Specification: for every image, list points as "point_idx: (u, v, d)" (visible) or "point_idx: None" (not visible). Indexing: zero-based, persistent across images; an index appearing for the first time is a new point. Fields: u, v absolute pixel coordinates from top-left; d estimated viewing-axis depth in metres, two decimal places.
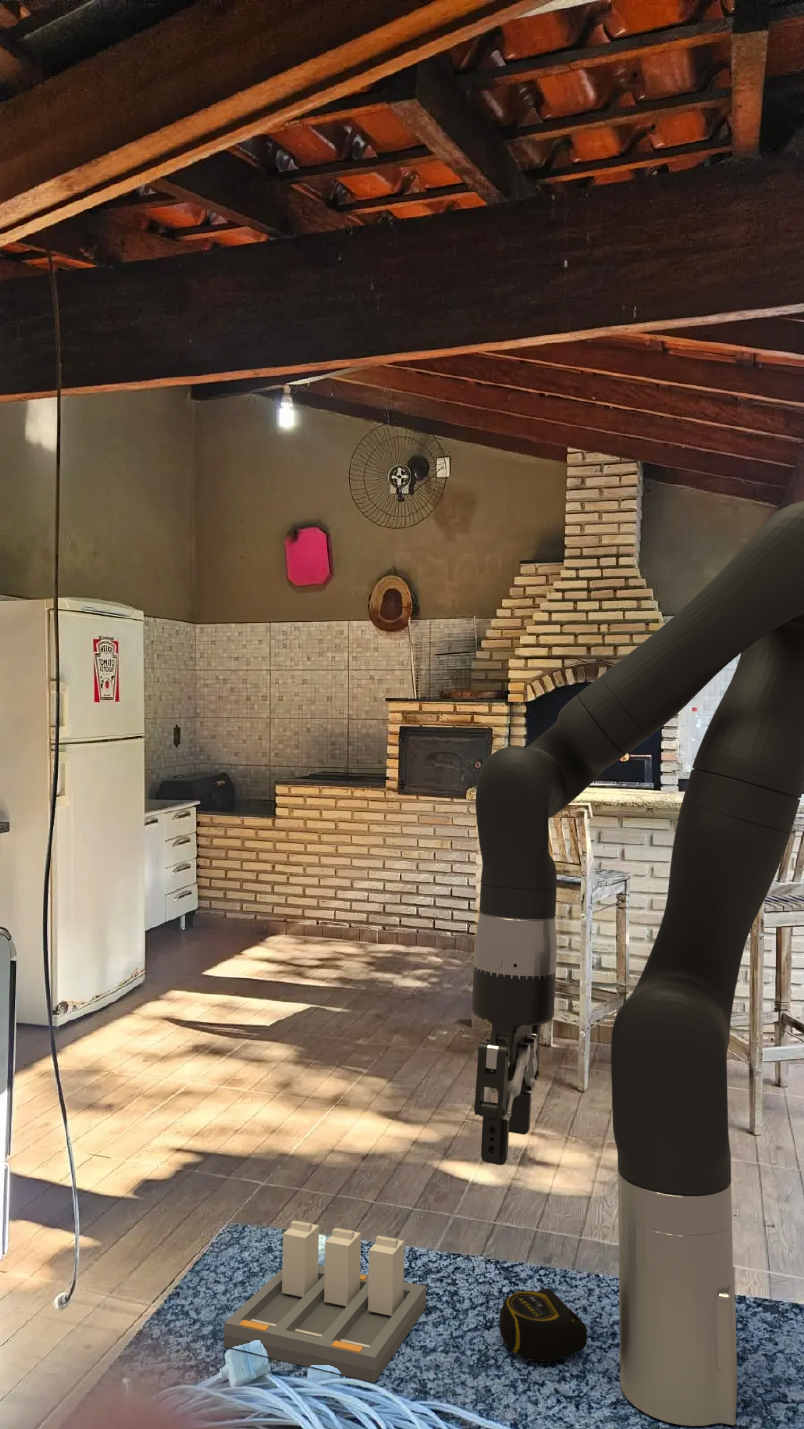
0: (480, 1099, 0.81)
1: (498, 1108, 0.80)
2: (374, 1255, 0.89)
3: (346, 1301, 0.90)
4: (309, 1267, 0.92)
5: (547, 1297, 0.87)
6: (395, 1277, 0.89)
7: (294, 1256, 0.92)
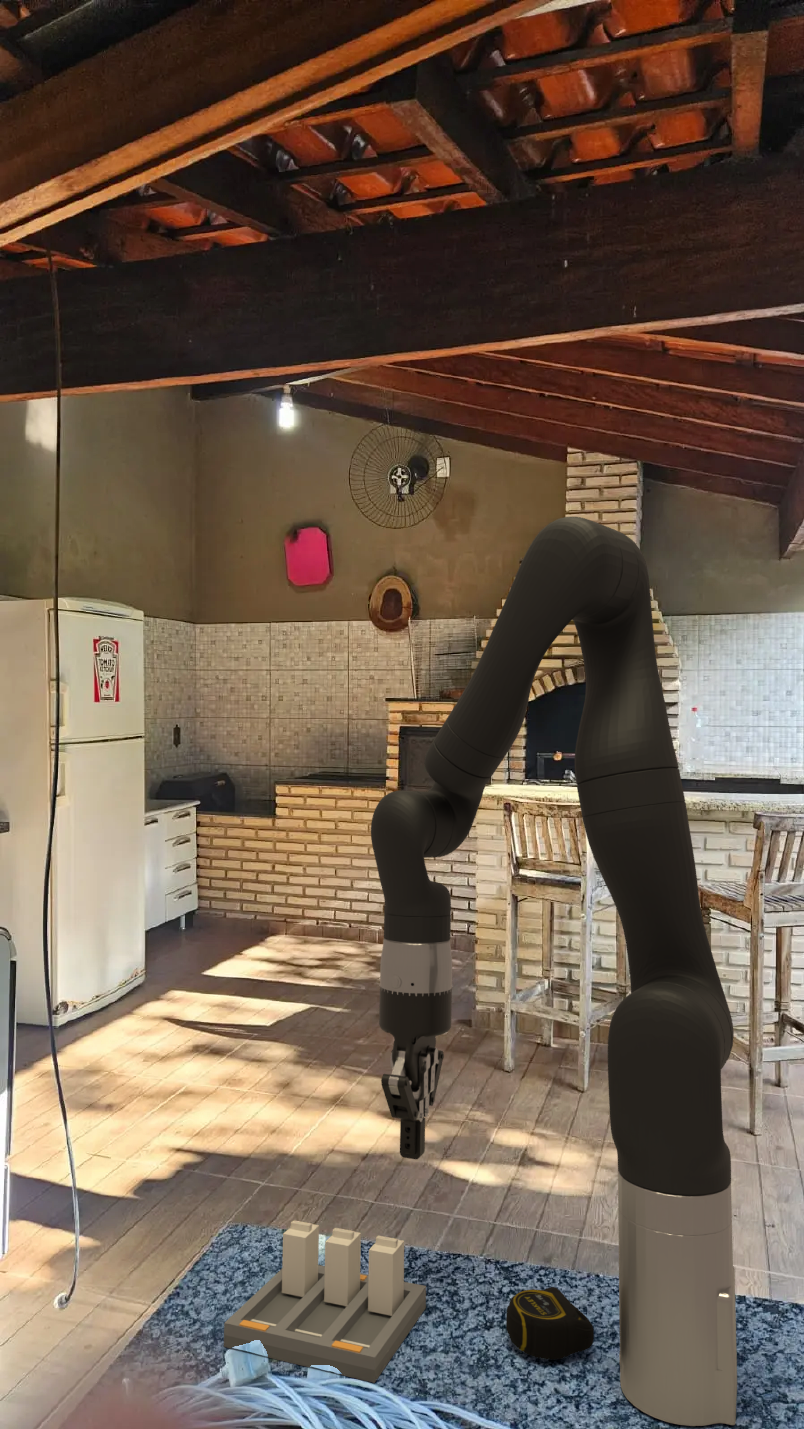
0: (394, 1111, 0.95)
1: None
2: (374, 1255, 0.89)
3: (346, 1301, 0.90)
4: (309, 1267, 0.92)
5: (553, 1296, 0.88)
6: (395, 1277, 0.89)
7: (294, 1256, 0.92)
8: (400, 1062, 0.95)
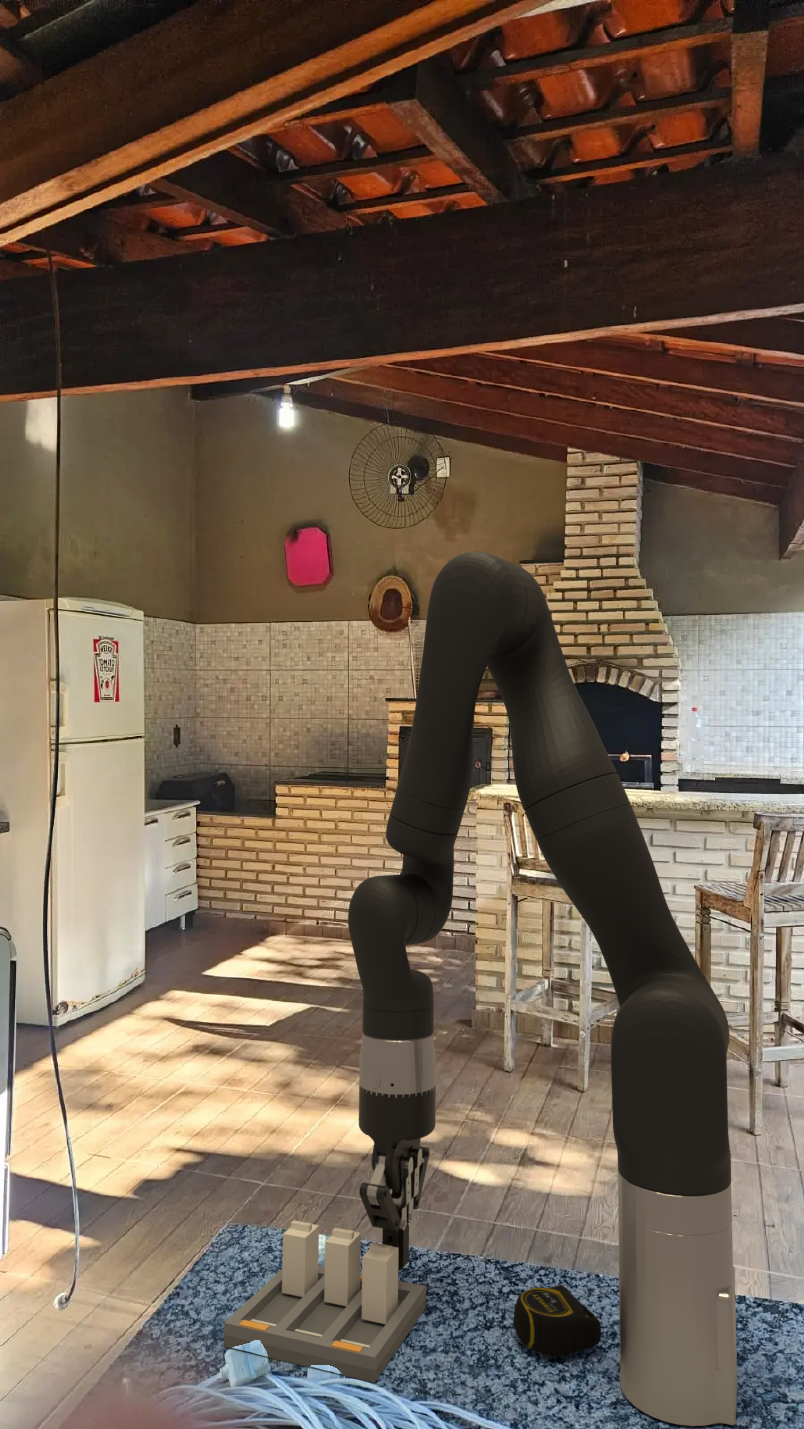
0: (374, 1221, 0.89)
1: None
2: (368, 1263, 0.87)
3: (346, 1301, 0.90)
4: (309, 1267, 0.92)
5: (560, 1294, 0.88)
6: (389, 1285, 0.87)
7: (294, 1256, 0.92)
8: (380, 1169, 0.89)
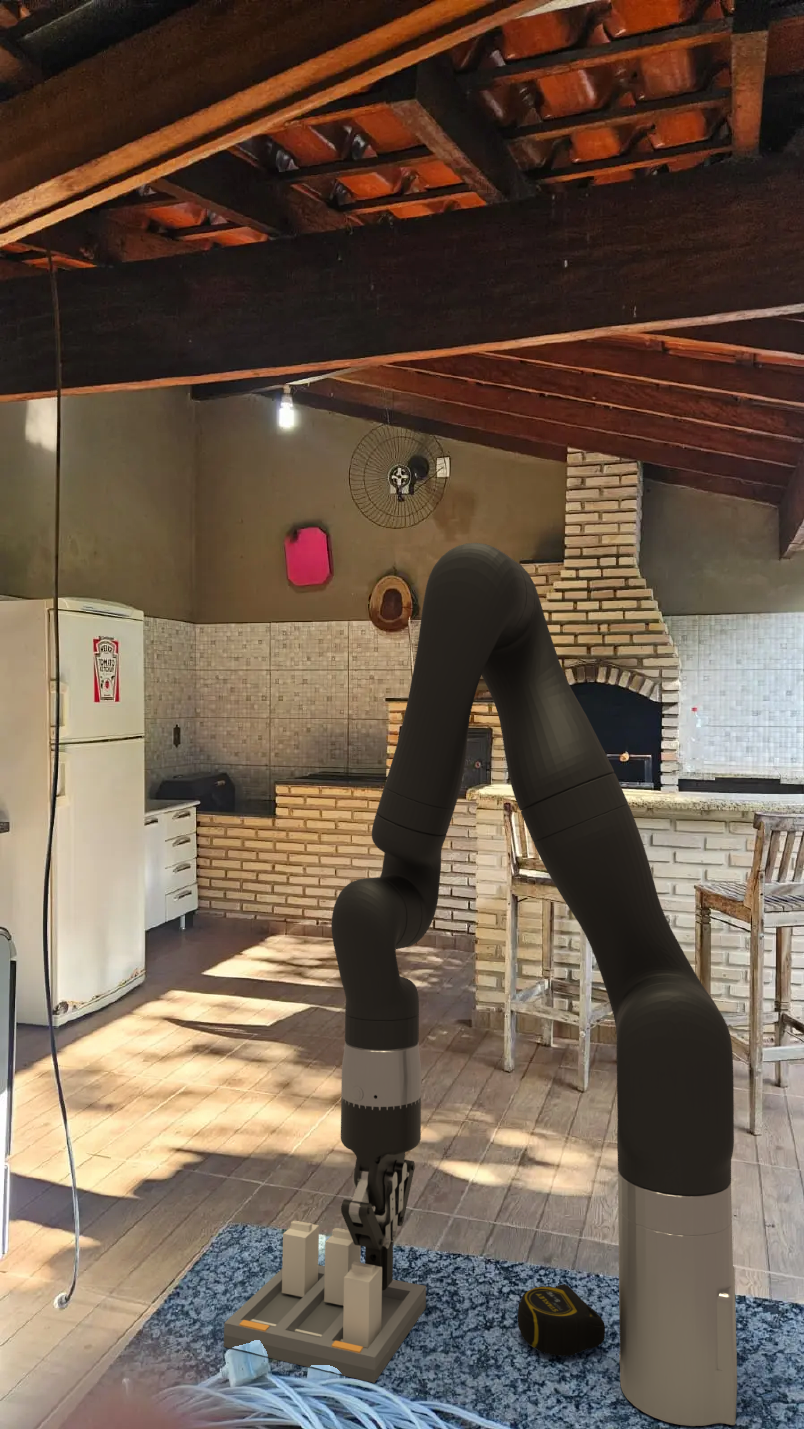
0: (356, 1239, 0.86)
1: None
2: (350, 1283, 0.84)
3: None
4: (309, 1267, 0.92)
5: (564, 1293, 0.88)
6: (372, 1306, 0.83)
7: (294, 1256, 0.92)
8: (362, 1185, 0.85)
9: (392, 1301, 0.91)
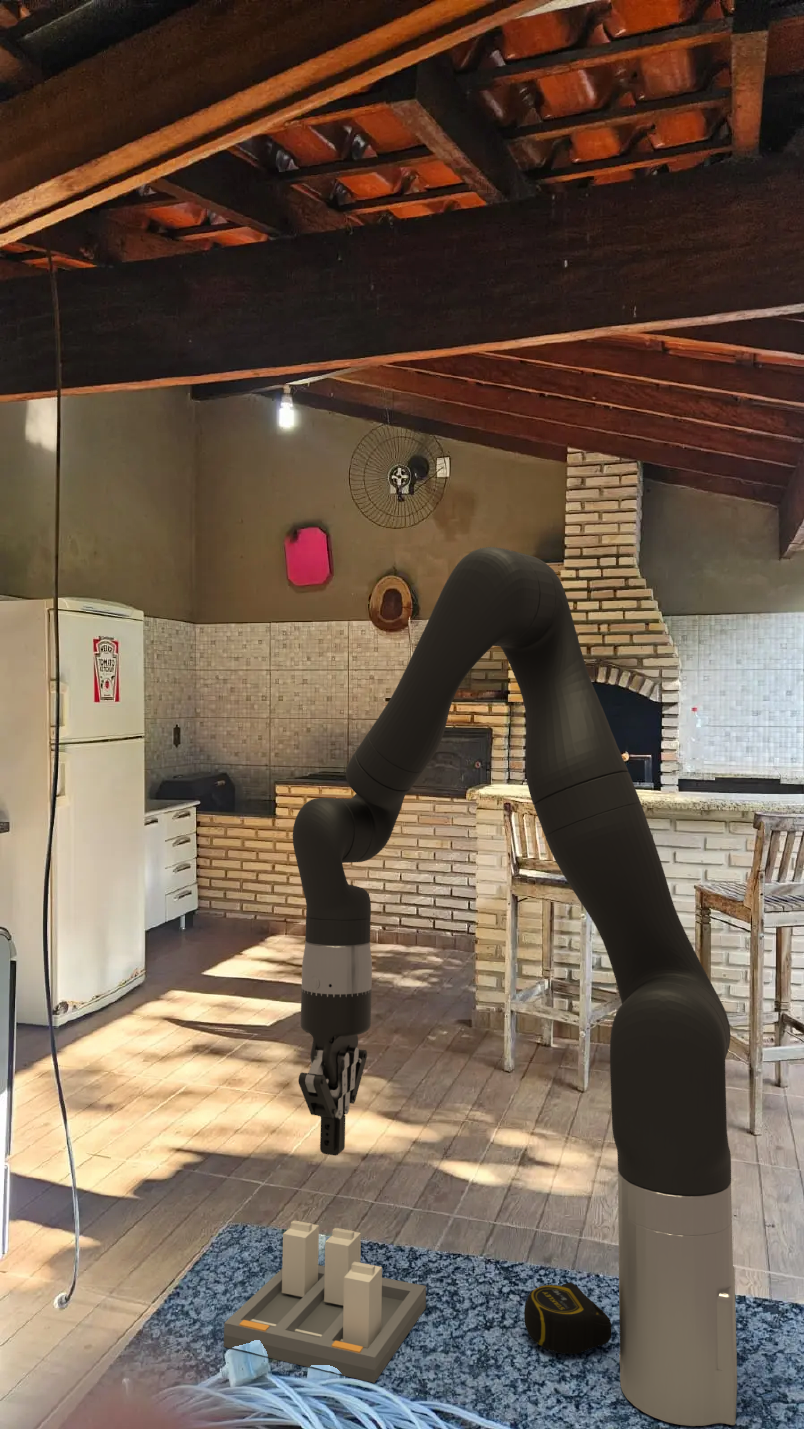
0: (312, 1109, 0.98)
1: None
2: (350, 1283, 0.84)
3: None
4: (309, 1267, 0.92)
5: (570, 1291, 0.89)
6: (371, 1306, 0.83)
7: (294, 1256, 0.92)
8: (318, 1061, 0.98)
9: (392, 1301, 0.91)
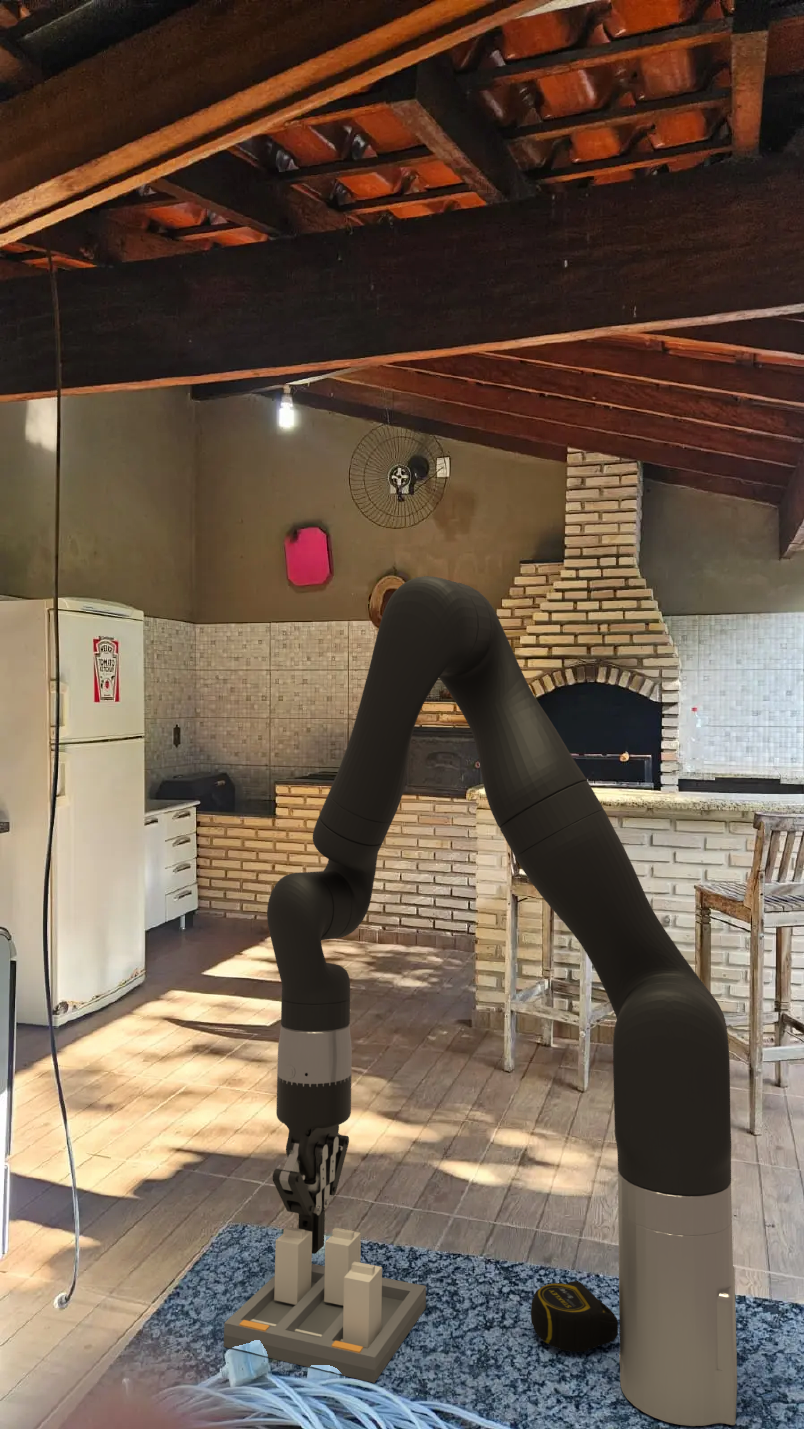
0: (288, 1206, 0.93)
1: None
2: (350, 1283, 0.84)
3: None
4: (302, 1274, 0.91)
5: (577, 1289, 0.89)
6: (371, 1306, 0.83)
7: (287, 1263, 0.90)
8: (293, 1156, 0.92)
9: (392, 1301, 0.91)
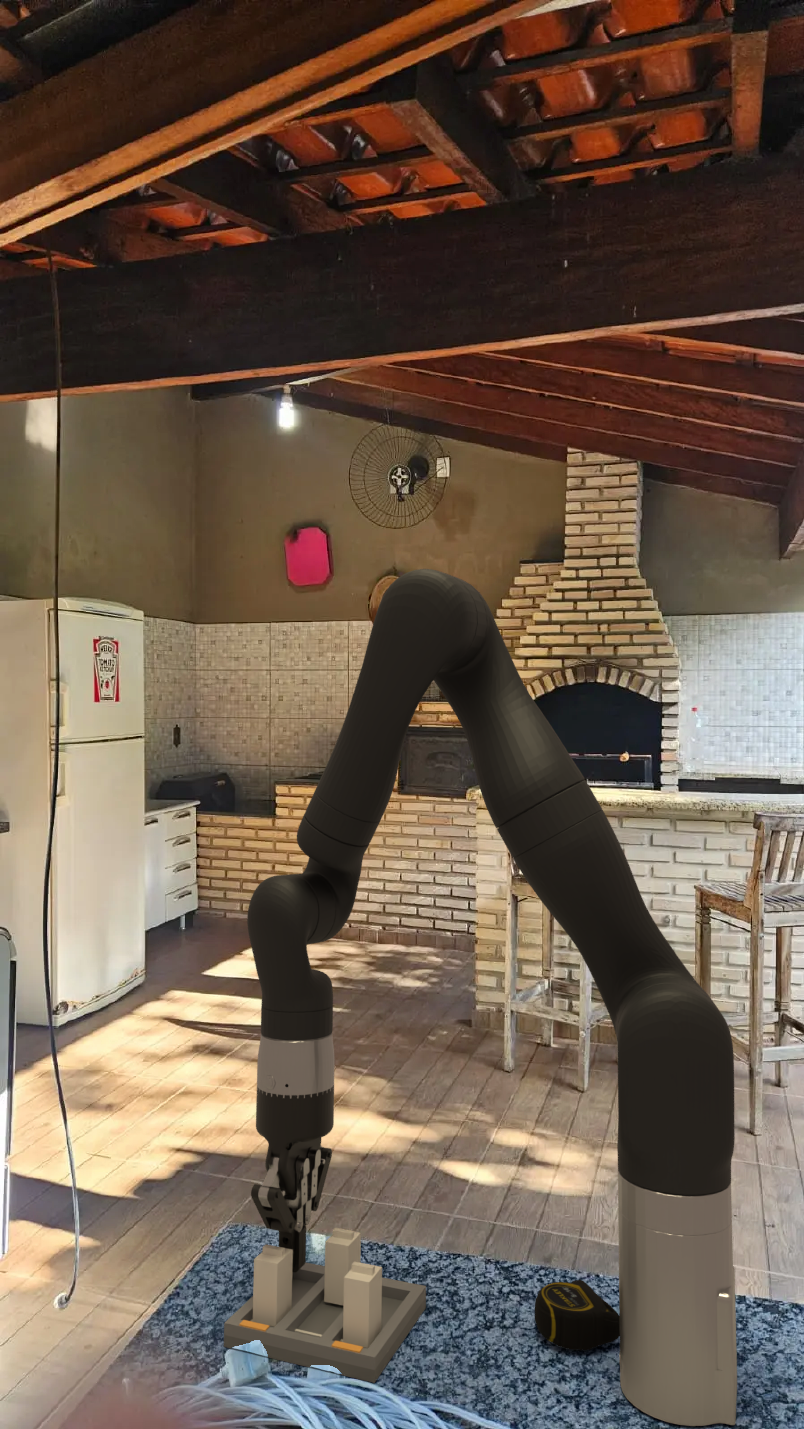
0: (268, 1223, 0.89)
1: None
2: (350, 1283, 0.84)
3: None
4: (281, 1294, 0.87)
5: (580, 1288, 0.89)
6: (371, 1306, 0.83)
7: (266, 1283, 0.86)
8: (273, 1170, 0.88)
9: (392, 1301, 0.91)
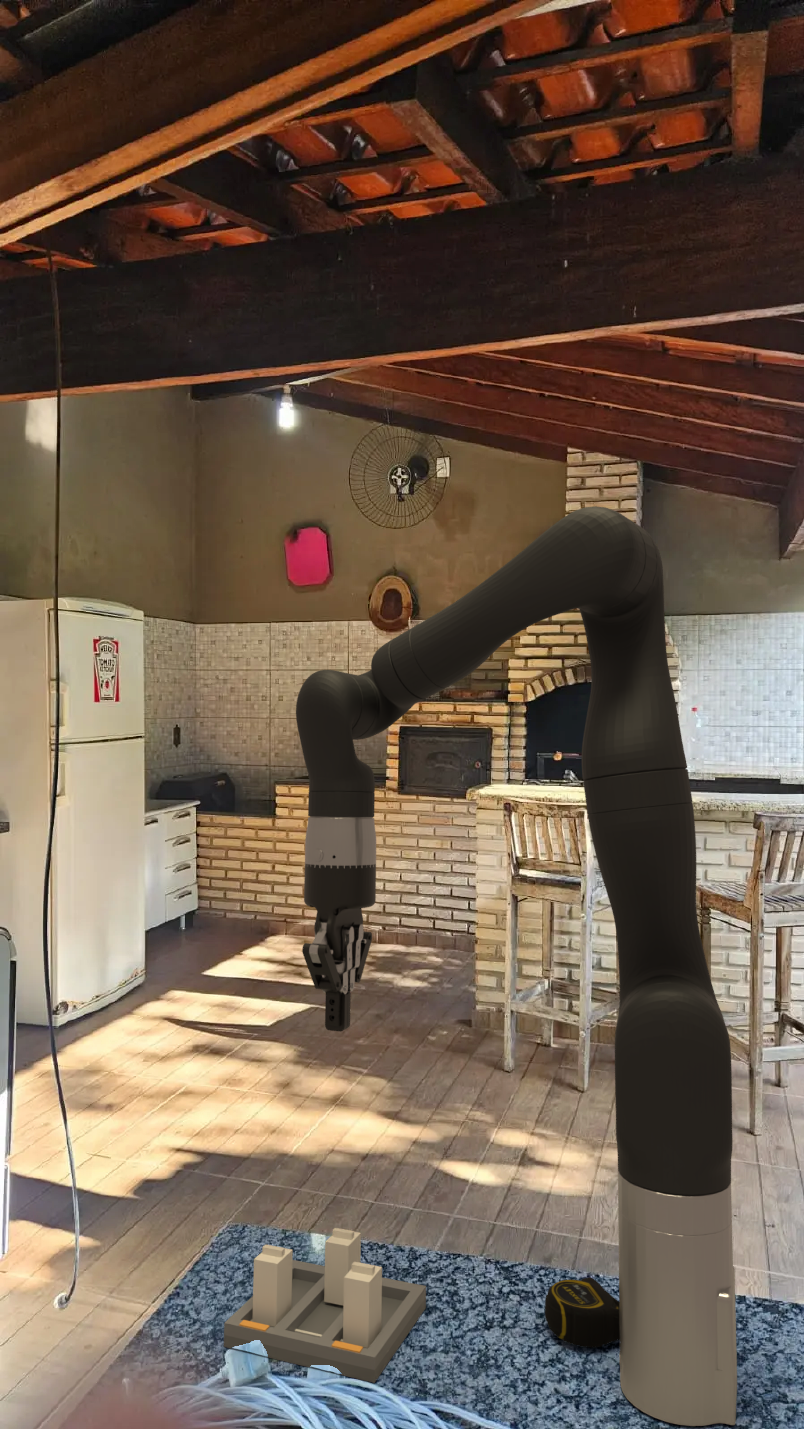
0: (317, 982, 0.96)
1: None
2: (350, 1283, 0.84)
3: None
4: (281, 1294, 0.87)
5: (590, 1286, 0.90)
6: (371, 1306, 0.83)
7: (265, 1283, 0.86)
8: (322, 932, 0.96)
9: (392, 1301, 0.91)
